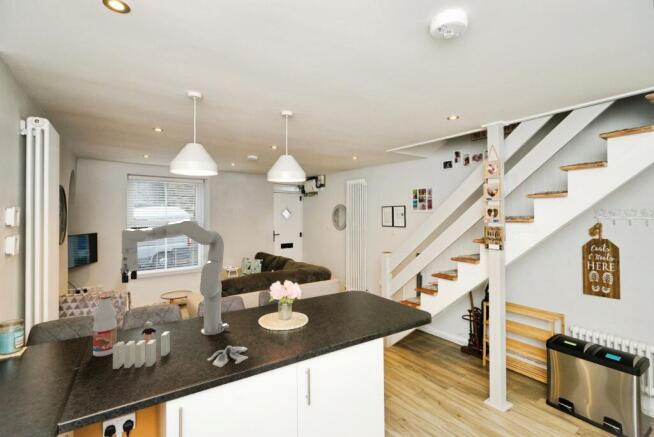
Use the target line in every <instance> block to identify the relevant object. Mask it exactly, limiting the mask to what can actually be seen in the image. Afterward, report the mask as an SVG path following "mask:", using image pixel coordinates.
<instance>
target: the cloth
mask: <svg viewBox="0 0 654 437" xmlns="http://www.w3.org/2000/svg"><path fill="white" fill-rule="evenodd" d="M247 350H248V348H247V347H245V346H232V345H227V346H226V348H225V349H220V350H217V351H216V352H214V353H213V355H212V356H210V357H209V358H207V359H206V360H207V361H212V360H214V361H213V363H212V365H214V367H215V366H216V367H218V368H223V367H224V366H225V365H226V364H228V362H229V361H230V360H234V361H235V362H234V364H240V363H241V362H244V361H245V360H247V359H248V358H249V357H248V356H246V355H241V353H244V352H246V351H247Z"/></svg>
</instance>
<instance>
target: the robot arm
mask: <svg viewBox="0 0 654 437" xmlns="http://www.w3.org/2000/svg"><path fill="white" fill-rule="evenodd" d="M182 236H185V237H186V238H189V239H191V240H193V241H194V242H195V243H198V244H199V245H202V246H207V245H208V252H207V262H206V263H204V265H203V266H202V269H201V272H200V273H201V274H200V285H199V292H200V295H201V296H202V297H203V328H202V329H200V334H202V335H204V336H212V335H218V334H220V333H222V332H224V330H225V329H229V324H228V323H223V321H222V291H223V290H222V289H223V288H222V287H223V284H222V281H221V280H220V274H221V272H222V271H223V264H224V251H225V244H224V242H225V241H224V239H223V237H222V236H221V234H220V233H219V232H217V231H215V230H213V229H206V228H203V227H201V226H200V225H199V222H198V221H197V220H195V219H184V220H180V221H175V222H168V223H166V224H164V225H161V226H156V227H155V226H154V227H149V228H138V229H137V228H136V229H133V228H130V229H128V228H126V229H125V228H124V229H122V231H121V268H120V269H119V270H120V274H121V283H122V284H128V283H129V280H137V279H138V269H139V255H138V243H148V242H152V241H156V240H161V239H173V238H177V237H182ZM129 273H130V276H129ZM129 277H130V279H129Z"/></svg>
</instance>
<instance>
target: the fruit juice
mask: <svg viewBox="0 0 654 437" xmlns="http://www.w3.org/2000/svg"><path fill="white" fill-rule="evenodd" d="M111 299H112V295H111V294H104V295H100V296H99V297H98V300H99V304H98V306H97V308H96V309H95V311H94V313H93V319H94V322H93V327H92V343H93V344H92V353H93V356H95V357H105V356H109V355H111V354H112V355H113V346H114V345H115V344H117V343H118V342H117V341H118V339H117V338H118V336H117V334H118V331H117V328H118V325H117V324H118V323H117V319H116V316H117V309H116V308H115V307H114V306H113V304H112V302H111Z"/></svg>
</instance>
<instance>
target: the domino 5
mask: <svg viewBox="0 0 654 437" xmlns="http://www.w3.org/2000/svg"><path fill="white" fill-rule="evenodd" d="M170 336H171V332H170V330H169V331H163V333H161V335H160V356H161V357H166V356H167V355H168V354H169V353H170V349H171V347H170V346H171V345H170V344H171V343H170V342H171V339H170V338H171V337H170Z"/></svg>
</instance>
